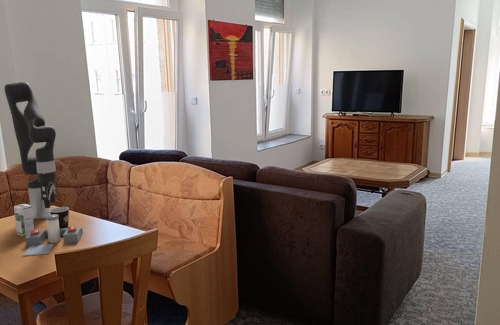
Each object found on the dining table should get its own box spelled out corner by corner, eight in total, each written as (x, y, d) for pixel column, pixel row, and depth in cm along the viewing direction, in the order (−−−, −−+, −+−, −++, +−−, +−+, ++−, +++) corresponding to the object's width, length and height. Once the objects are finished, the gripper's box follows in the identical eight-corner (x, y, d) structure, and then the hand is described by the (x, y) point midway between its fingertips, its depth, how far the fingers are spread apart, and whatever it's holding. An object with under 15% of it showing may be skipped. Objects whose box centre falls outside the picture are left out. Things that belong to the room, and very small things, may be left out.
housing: (34, 236, 188) (33, 228, 187) (82, 232, 192) (82, 225, 192) (26, 246, 177) (25, 237, 176) (77, 241, 181) (77, 233, 181)
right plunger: (69, 235, 186) (68, 226, 185) (77, 234, 186) (76, 226, 186) (67, 238, 182) (66, 229, 181) (75, 237, 183) (75, 228, 182)
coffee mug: (65, 224, 204) (63, 205, 202) (73, 227, 199) (71, 209, 197) (42, 230, 195) (40, 211, 193) (50, 234, 190) (48, 215, 188)
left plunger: (32, 238, 183) (31, 229, 182) (41, 237, 183) (40, 228, 182) (30, 241, 179) (29, 232, 178) (38, 240, 180) (37, 231, 179)
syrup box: (16, 234, 190) (12, 206, 187) (28, 230, 195) (24, 203, 192) (23, 237, 187) (20, 208, 184) (35, 232, 193) (31, 204, 190)
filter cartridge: (50, 238, 185) (47, 214, 183) (62, 237, 186) (59, 214, 184) (46, 243, 180) (43, 218, 177) (59, 242, 181) (56, 217, 179)
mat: (30, 246, 176) (30, 245, 176) (54, 244, 179) (54, 243, 178) (22, 256, 167) (22, 255, 167) (47, 254, 169) (47, 253, 169)
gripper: (42, 167, 182) (46, 201, 185) (32, 174, 168) (36, 210, 172) (59, 166, 184) (63, 200, 187) (51, 173, 170) (54, 209, 173)
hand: (50, 205), depth 179 cm, fingers open, 8 cm apart
